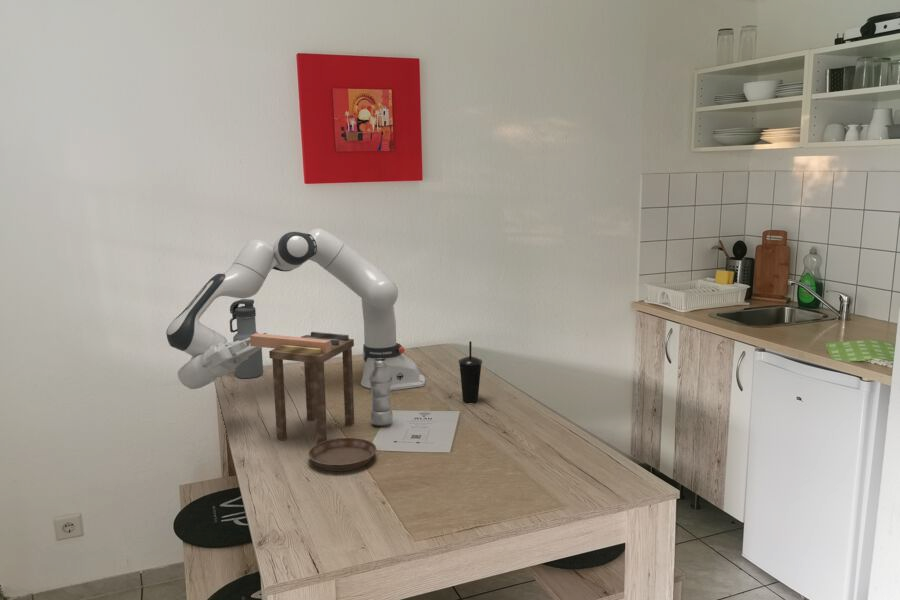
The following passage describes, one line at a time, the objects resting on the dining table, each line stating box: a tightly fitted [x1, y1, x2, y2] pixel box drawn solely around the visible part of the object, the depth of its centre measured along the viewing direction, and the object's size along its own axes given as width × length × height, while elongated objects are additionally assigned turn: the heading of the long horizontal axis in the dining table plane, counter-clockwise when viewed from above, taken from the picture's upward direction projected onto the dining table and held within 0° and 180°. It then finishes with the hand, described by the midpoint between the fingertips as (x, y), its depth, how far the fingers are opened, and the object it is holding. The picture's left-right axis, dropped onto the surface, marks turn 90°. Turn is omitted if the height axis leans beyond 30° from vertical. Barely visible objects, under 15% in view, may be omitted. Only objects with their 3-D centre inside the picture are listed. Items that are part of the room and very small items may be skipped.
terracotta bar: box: [250, 332, 331, 354], centre depth 196 cm, size 24×3×3 cm, turn 70°
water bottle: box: [229, 298, 264, 380], centre depth 255 cm, size 10×10×28 cm
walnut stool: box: [268, 331, 355, 445], centre depth 202 cm, size 16×19×28 cm
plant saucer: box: [307, 437, 377, 472], centre depth 185 cm, size 18×18×3 cm
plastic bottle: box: [369, 358, 394, 427], centre depth 208 cm, size 6×7×20 cm
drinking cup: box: [458, 341, 483, 404], centre depth 227 cm, size 8×8×20 cm
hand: (256, 339), depth 199 cm, fingers open, 8 cm apart
